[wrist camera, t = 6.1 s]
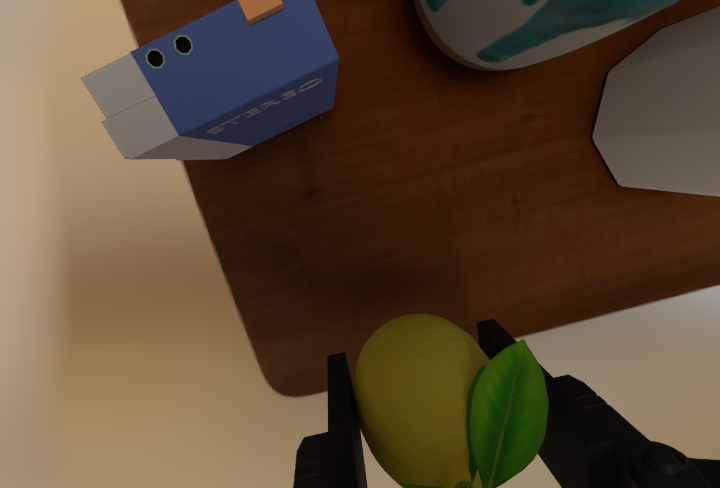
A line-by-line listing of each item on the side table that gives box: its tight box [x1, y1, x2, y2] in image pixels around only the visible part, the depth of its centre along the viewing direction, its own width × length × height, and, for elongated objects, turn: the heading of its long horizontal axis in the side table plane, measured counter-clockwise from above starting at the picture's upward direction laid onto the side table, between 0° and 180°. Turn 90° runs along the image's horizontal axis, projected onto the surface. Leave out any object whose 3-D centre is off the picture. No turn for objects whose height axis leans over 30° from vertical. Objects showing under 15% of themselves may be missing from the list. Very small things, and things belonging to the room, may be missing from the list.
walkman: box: [81, 0, 339, 160], centre depth 16 cm, size 8×3×12 cm, turn 115°
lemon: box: [353, 313, 549, 488], centre depth 12 cm, size 7×6×10 cm
